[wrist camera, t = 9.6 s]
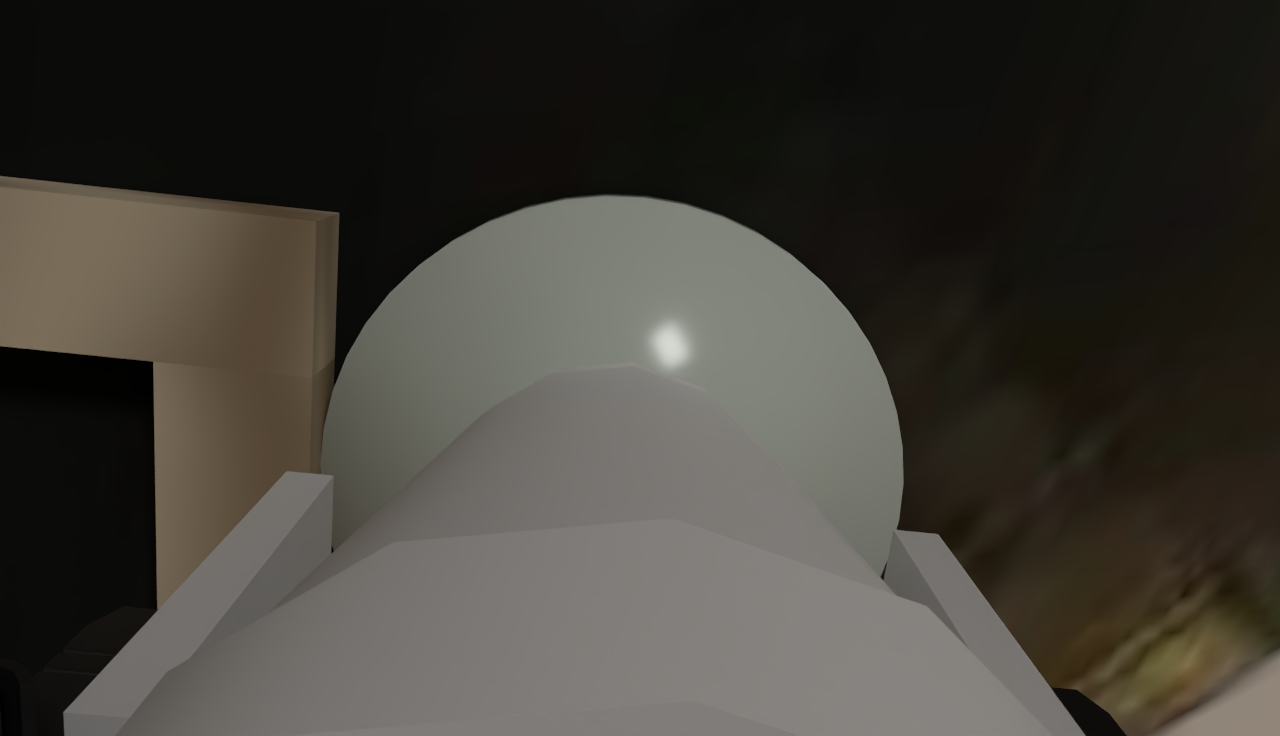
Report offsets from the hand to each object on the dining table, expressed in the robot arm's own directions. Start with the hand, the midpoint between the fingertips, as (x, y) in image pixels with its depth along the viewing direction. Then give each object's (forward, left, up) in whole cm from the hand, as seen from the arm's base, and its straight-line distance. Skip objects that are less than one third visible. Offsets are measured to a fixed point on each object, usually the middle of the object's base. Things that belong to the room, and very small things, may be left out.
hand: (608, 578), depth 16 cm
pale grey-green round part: (0, 0, -5) cm, 5 cm away
